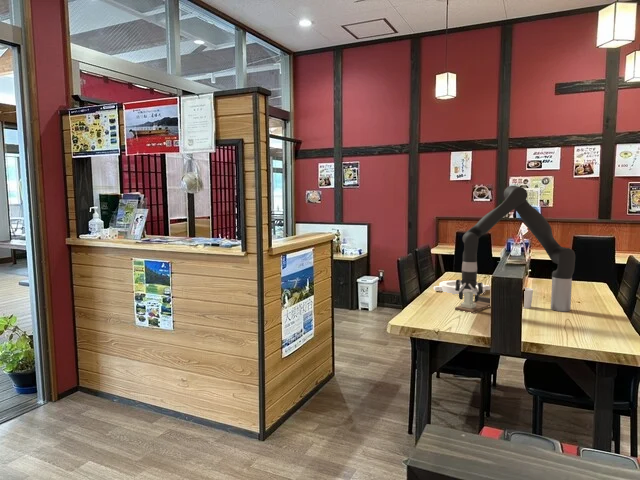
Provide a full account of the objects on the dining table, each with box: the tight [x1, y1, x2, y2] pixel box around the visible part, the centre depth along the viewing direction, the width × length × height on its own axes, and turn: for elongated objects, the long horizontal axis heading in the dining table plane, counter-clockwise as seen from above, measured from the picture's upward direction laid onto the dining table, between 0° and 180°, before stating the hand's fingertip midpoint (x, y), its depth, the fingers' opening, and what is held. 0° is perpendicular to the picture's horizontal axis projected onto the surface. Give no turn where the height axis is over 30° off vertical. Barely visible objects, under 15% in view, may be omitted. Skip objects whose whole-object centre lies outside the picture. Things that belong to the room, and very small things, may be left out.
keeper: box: [460, 291, 476, 309], centre depth 235 cm, size 5×6×8 cm
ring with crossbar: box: [433, 279, 491, 295], centre depth 284 cm, size 28×28×5 cm
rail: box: [454, 295, 491, 314], centre depth 240 cm, size 24×10×4 cm, turn 134°
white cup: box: [523, 287, 534, 309], centre depth 241 cm, size 8×8×10 cm
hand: (468, 300), depth 235 cm, fingers open, 8 cm apart
